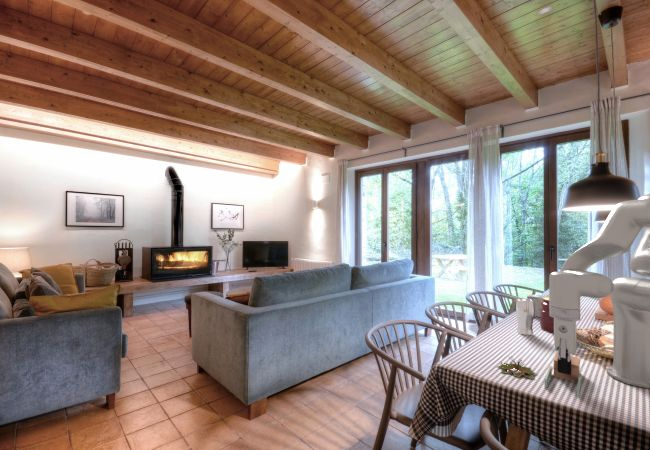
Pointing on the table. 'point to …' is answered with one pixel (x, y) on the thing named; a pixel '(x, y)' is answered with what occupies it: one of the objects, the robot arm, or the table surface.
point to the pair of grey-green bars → (551, 374)
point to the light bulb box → (536, 303)
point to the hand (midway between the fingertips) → (564, 372)
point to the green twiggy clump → (519, 367)
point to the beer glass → (525, 315)
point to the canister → (546, 315)
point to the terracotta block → (574, 369)
